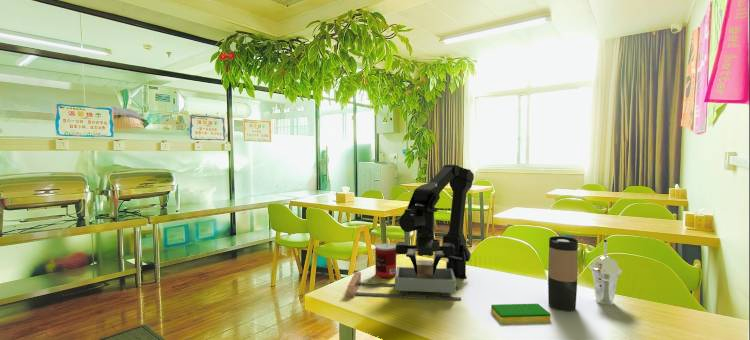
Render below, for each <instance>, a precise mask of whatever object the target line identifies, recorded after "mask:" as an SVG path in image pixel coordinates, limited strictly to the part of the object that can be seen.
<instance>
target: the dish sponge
mask: <svg viewBox="0 0 750 340" xmlns="http://www.w3.org/2000/svg"><path fill="white" fill-rule="evenodd" d="M490 308H491V309H490V311H491V313H492V315H493V316H494V317H495V318H496V319H497V320H498V321H499V322H500V323H537V322H538V323H540V322H541V323H542V322H543V323H544V322H551V317H552V316H551V313H550V312H549V311H548V310H546V309H545V307H543V306H541V305H540V304H539V303H507V304H506V303H504V304H503V303H502V304H491V307H490Z"/></svg>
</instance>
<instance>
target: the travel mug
mask: <svg viewBox="0 0 750 340" xmlns="http://www.w3.org/2000/svg"><path fill="white" fill-rule="evenodd" d="M548 241H549V242H548V270H547V271H548V272H547V286H548V287H547V288H548V289H547V290H548V291H547V293H548V295H547V296H548V298H547V299H548V303H547V304H548V306H549V307H550V308H551V309H554V310H557V311H560V312H574V311H575V310H576V308H577V307H576V306H577V293H578V292H577V291H578V266H579V265H578V262H579V261H578V259H579V257H578V256H579V255H578V254H579V248H578V247H579V241H578V239H576V238H573V237H568V236H558V235H557V236H550V237H549V239H548Z"/></svg>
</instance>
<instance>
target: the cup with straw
mask: <svg viewBox="0 0 750 340" xmlns="http://www.w3.org/2000/svg"><path fill="white" fill-rule="evenodd" d="M607 249H608V240H607V239H603V255H602V256H598V257H595V259H593V261H592V263H590V264H589V266H588V268H589V270H591V275H592V278H593V288H594V289H593V290H594V296H595V301H596V303H598V304H601V305H607V306H609V305H613V304H614V300H615V297H616V296H615V294H616V289H617V283H618V281H619V276H620V275H621V274H622V273H623V272H622V271H623V269H622V268H621V267H619V264H618V262H617V261H616V260H615V259H614V258H611V256H607V255H608V253H607V252H608V250H607Z"/></svg>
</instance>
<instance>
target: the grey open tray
mask: <svg viewBox="0 0 750 340" xmlns="http://www.w3.org/2000/svg"><path fill="white" fill-rule="evenodd" d="M456 279H457V278H455V276H454V273H453V269H446V267H445V268H444V267H443V268H442V267H440V268H438V267H436V270H435V273H434V275H433V279H423V278H417V275H416V273H415V269H414V266H413V267H412V266H396V275H395V277H394V284H395V287H394V290H395V291H399V292H400V294H402V295H408V293H409V292H422V293H423V292H428V293H429V292H430V293H442V296H444V297H448V296H449V297H450V296H451V294H456V293H457V289H456V286H457V283H456V282H457V280H456Z"/></svg>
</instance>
